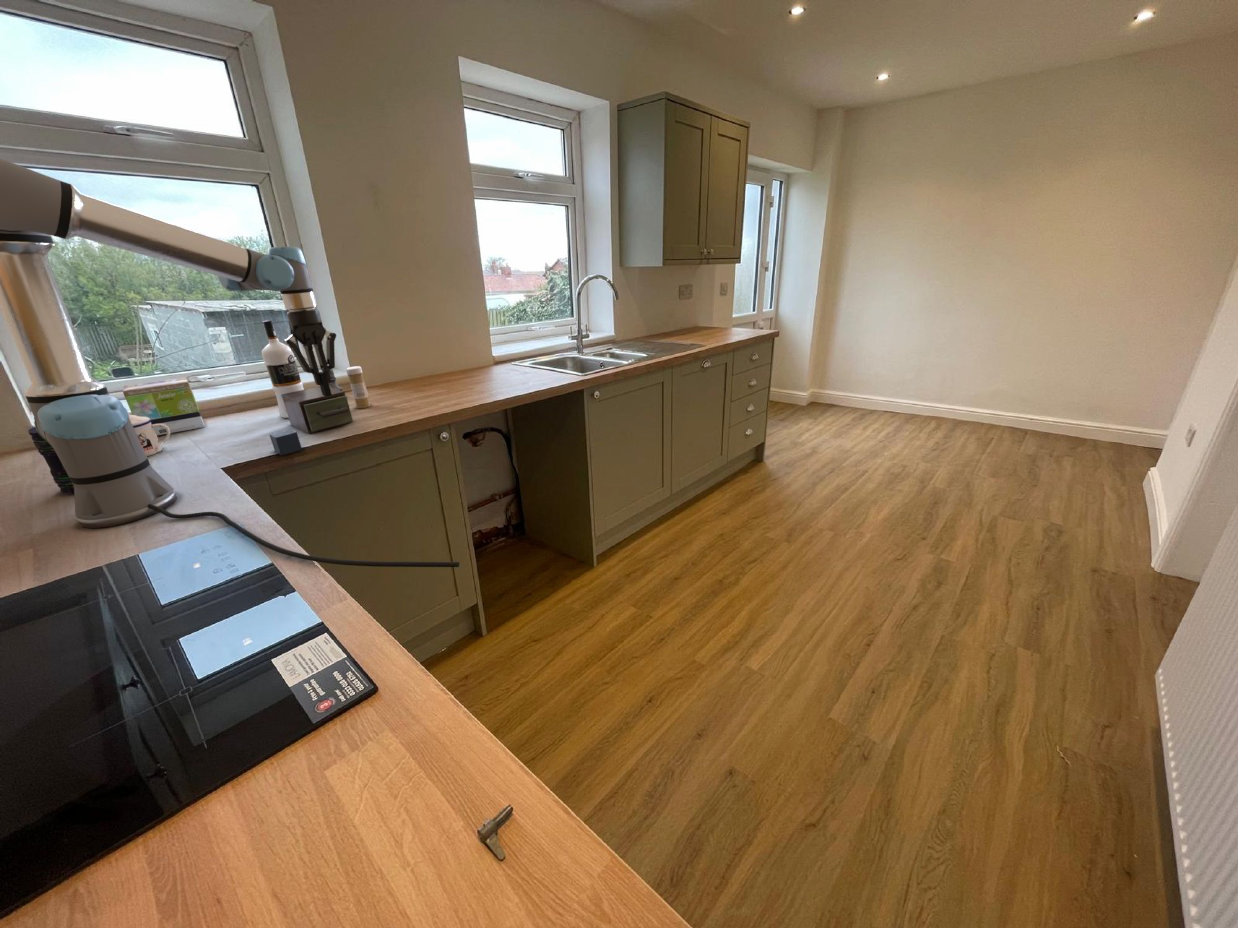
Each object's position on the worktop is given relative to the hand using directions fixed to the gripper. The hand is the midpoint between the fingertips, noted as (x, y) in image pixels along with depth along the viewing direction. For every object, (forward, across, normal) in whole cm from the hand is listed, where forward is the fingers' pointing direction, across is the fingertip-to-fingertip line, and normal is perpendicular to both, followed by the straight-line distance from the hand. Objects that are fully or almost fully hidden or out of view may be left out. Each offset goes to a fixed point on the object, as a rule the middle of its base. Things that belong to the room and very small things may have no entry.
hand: (327, 395), depth 143 cm
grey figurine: (+11, -15, -38) cm, 42 cm away
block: (+11, +15, +7) cm, 20 cm away
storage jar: (+11, +52, -9) cm, 54 cm away
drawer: (+10, 0, -6) cm, 11 cm away
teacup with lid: (+11, +39, -26) cm, 48 cm away
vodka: (+11, +1, -29) cm, 31 cm away
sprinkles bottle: (+11, -16, -18) cm, 26 cm away
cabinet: (+11, 0, -11) cm, 15 cm away
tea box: (+11, +30, -46) cm, 56 cm away
